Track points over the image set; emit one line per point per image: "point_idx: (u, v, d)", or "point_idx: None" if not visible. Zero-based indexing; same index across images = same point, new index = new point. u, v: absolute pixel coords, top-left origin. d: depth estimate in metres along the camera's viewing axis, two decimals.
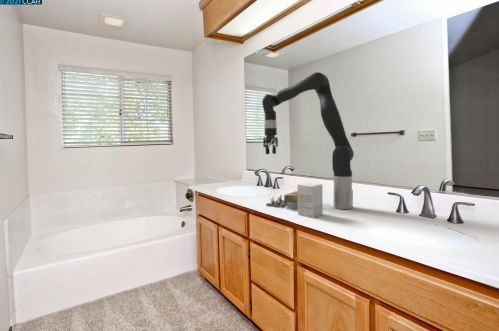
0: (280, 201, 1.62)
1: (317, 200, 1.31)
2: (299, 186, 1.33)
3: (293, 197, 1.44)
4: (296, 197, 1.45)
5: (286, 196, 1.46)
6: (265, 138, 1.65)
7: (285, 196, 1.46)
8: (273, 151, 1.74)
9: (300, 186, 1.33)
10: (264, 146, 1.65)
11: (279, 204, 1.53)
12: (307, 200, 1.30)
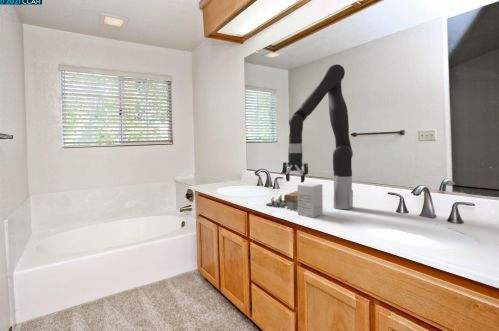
0: (280, 201, 1.62)
1: (317, 200, 1.31)
2: (299, 186, 1.33)
3: (293, 197, 1.44)
4: (296, 197, 1.45)
5: (286, 196, 1.46)
6: (307, 164, 1.46)
7: (285, 196, 1.46)
8: (288, 178, 1.52)
9: (300, 186, 1.33)
10: (306, 173, 1.45)
11: (279, 204, 1.53)
12: (307, 200, 1.30)
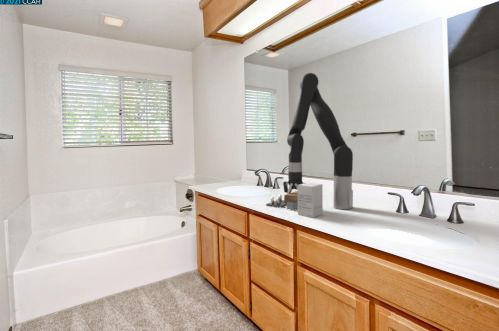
0: (280, 201, 1.62)
1: (317, 200, 1.31)
2: (299, 186, 1.33)
3: (293, 197, 1.44)
4: (296, 197, 1.45)
5: (286, 196, 1.46)
6: None
7: (285, 196, 1.46)
8: None
9: (300, 186, 1.33)
10: None
11: (279, 204, 1.53)
12: (307, 200, 1.30)
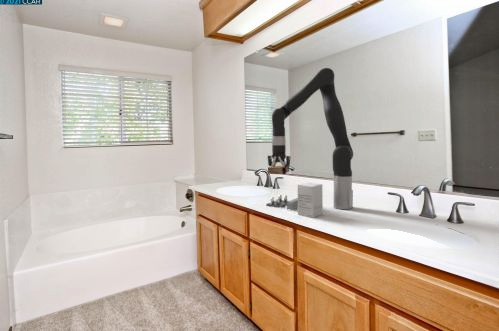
0: (280, 201, 1.62)
1: (317, 200, 1.31)
2: (299, 186, 1.33)
3: (276, 169, 1.50)
4: (279, 169, 1.51)
5: (269, 168, 1.52)
6: (289, 157, 1.53)
7: (269, 168, 1.53)
8: None
9: (300, 186, 1.33)
10: None
11: (279, 204, 1.53)
12: (307, 200, 1.30)
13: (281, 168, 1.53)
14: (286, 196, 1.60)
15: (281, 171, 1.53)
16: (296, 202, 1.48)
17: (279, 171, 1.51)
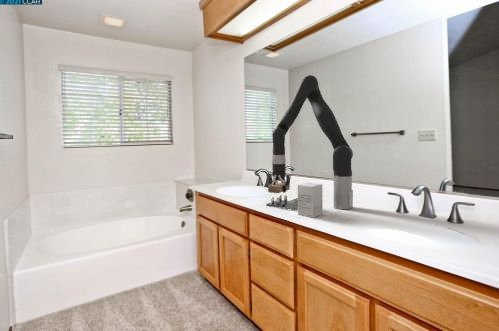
0: (280, 201, 1.62)
1: (317, 200, 1.31)
2: (299, 186, 1.33)
3: (276, 188, 1.51)
4: (279, 188, 1.52)
5: (270, 187, 1.53)
6: (289, 176, 1.54)
7: (269, 187, 1.54)
8: None
9: (300, 186, 1.33)
10: (288, 184, 1.54)
11: (279, 204, 1.53)
12: (307, 200, 1.30)
13: (281, 187, 1.54)
14: (286, 196, 1.60)
15: (281, 190, 1.54)
16: (296, 202, 1.48)
17: (279, 190, 1.52)
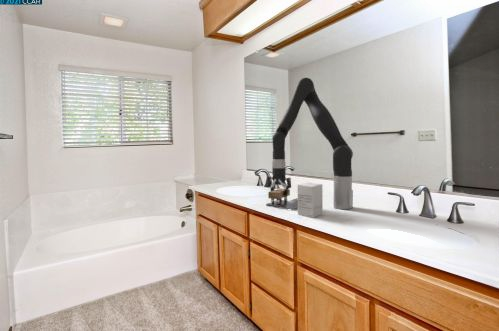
0: (280, 201, 1.62)
1: (317, 200, 1.31)
2: (299, 186, 1.33)
3: (276, 194, 1.51)
4: (279, 194, 1.52)
5: (270, 193, 1.53)
6: (289, 179, 1.54)
7: (269, 193, 1.54)
8: None
9: (300, 186, 1.33)
10: (289, 187, 1.53)
11: (279, 204, 1.53)
12: (307, 200, 1.30)
13: (281, 192, 1.54)
14: (286, 196, 1.60)
15: (281, 195, 1.54)
16: (296, 202, 1.48)
17: (279, 196, 1.52)
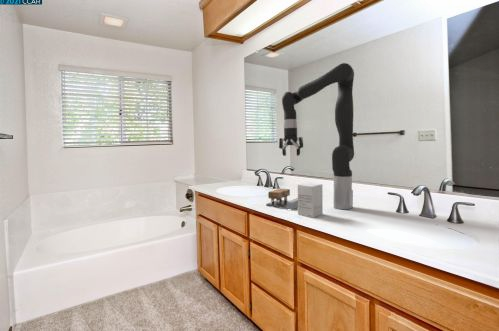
0: (280, 201, 1.62)
1: (317, 200, 1.31)
2: (299, 186, 1.33)
3: (276, 194, 1.51)
4: (279, 194, 1.52)
5: (270, 193, 1.53)
6: (301, 138, 1.55)
7: (269, 193, 1.54)
8: (284, 153, 1.62)
9: (300, 186, 1.33)
10: (302, 147, 1.55)
11: (279, 204, 1.53)
12: (307, 200, 1.30)
13: (281, 192, 1.54)
14: (286, 196, 1.60)
15: (281, 195, 1.54)
16: (296, 202, 1.48)
17: (279, 196, 1.52)
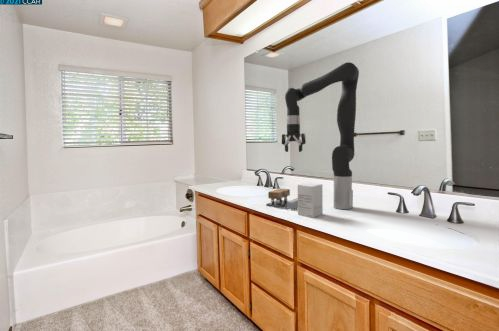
0: (280, 201, 1.62)
1: (317, 200, 1.31)
2: (299, 186, 1.33)
3: (276, 194, 1.51)
4: (279, 194, 1.52)
5: (270, 193, 1.53)
6: (304, 134, 1.56)
7: (269, 193, 1.54)
8: (287, 149, 1.62)
9: (300, 186, 1.33)
10: (304, 143, 1.56)
11: (279, 204, 1.53)
12: (307, 200, 1.30)
13: (281, 192, 1.54)
14: (286, 196, 1.60)
15: (281, 195, 1.54)
16: (296, 202, 1.48)
17: (279, 196, 1.52)
